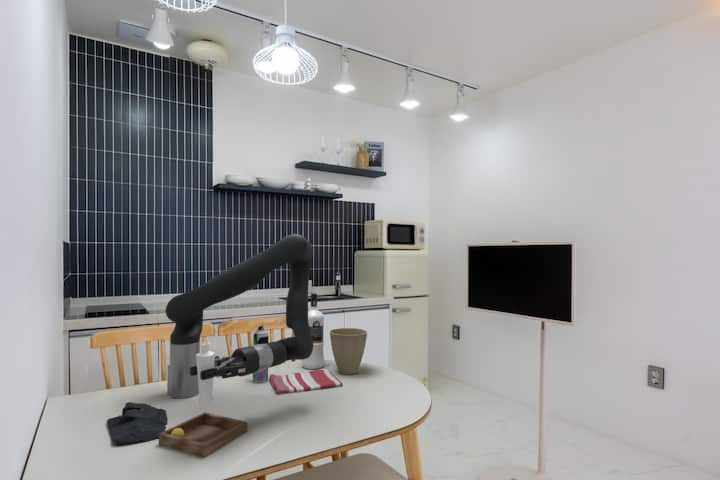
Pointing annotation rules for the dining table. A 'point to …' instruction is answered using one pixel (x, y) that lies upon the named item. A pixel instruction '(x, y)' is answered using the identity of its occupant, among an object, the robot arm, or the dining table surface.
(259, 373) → the spray can
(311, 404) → the dining table surface
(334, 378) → the dish towel
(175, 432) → the ball
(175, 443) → the tray
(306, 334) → the robot arm
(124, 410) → the dark folded fabric bundle
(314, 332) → the vodka
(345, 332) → the plant pot
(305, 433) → the dining table surface
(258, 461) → the dining table surface
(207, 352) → the white faceted vase
